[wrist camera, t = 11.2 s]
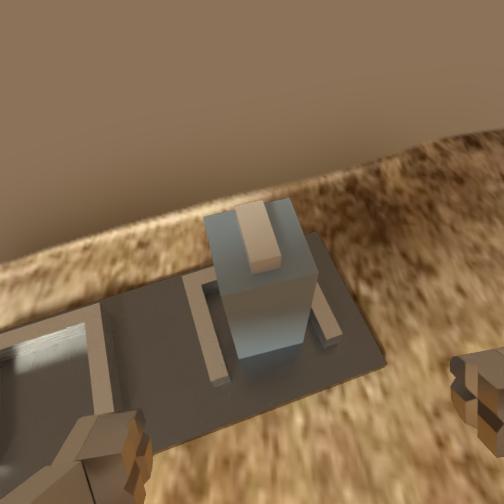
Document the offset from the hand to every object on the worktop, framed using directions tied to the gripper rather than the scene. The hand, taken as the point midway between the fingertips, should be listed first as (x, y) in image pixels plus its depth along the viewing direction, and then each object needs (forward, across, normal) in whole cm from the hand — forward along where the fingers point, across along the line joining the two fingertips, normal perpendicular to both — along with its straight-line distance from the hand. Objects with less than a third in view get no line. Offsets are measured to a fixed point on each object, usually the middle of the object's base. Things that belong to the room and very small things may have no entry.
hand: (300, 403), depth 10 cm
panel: (+13, +7, +5) cm, 15 cm away
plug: (+13, 0, +4) cm, 14 cm away
